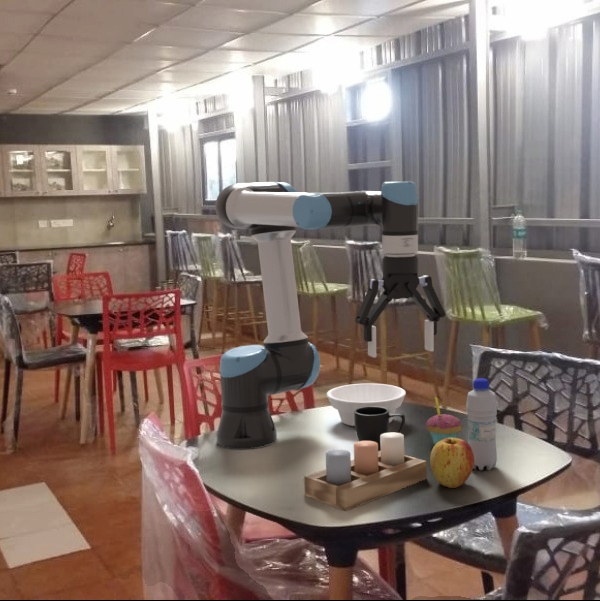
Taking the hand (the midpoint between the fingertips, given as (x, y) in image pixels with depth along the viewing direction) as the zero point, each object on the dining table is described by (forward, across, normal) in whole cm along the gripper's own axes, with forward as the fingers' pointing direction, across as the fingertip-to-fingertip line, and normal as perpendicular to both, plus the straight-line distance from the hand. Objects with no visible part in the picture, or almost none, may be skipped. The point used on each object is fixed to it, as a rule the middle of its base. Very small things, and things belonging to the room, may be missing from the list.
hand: (401, 353), depth 177 cm
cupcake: (+27, +18, +13) cm, 35 cm away
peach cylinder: (+23, -11, -6) cm, 26 cm away
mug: (+27, +2, +15) cm, 31 cm away
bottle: (+26, +17, -6) cm, 32 cm away
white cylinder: (+23, -4, -3) cm, 24 cm away
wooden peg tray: (+26, -11, -6) cm, 29 cm away
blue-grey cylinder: (+23, -19, -9) cm, 31 cm away
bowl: (+27, +9, +39) cm, 48 cm away
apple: (+26, +5, -12) cm, 30 cm away
